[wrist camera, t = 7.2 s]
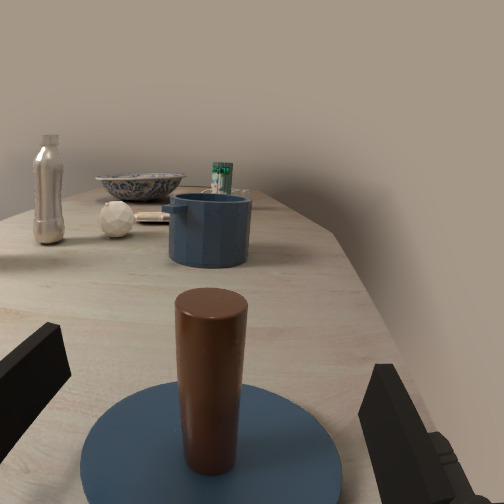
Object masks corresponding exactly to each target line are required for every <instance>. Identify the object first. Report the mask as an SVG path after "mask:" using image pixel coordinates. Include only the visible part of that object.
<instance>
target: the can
mask: <svg viewBox="0 0 504 504" xmlns="http://www.w3.org/2000/svg"><path fill="white" fill-rule="evenodd" d="M232 170H233V163H221V162H213V170H212V185H211V193H217V194H229V195H231V184H232Z"/></svg>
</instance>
